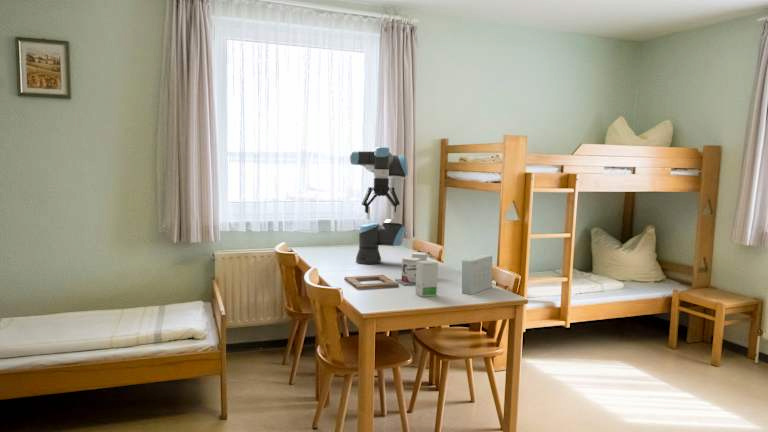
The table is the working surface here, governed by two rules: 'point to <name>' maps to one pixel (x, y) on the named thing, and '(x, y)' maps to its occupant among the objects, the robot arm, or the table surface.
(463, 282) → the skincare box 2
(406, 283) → the mat
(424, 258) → the supplement box
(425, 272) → the skincare box
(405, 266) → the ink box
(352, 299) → the table surface
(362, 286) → the board
